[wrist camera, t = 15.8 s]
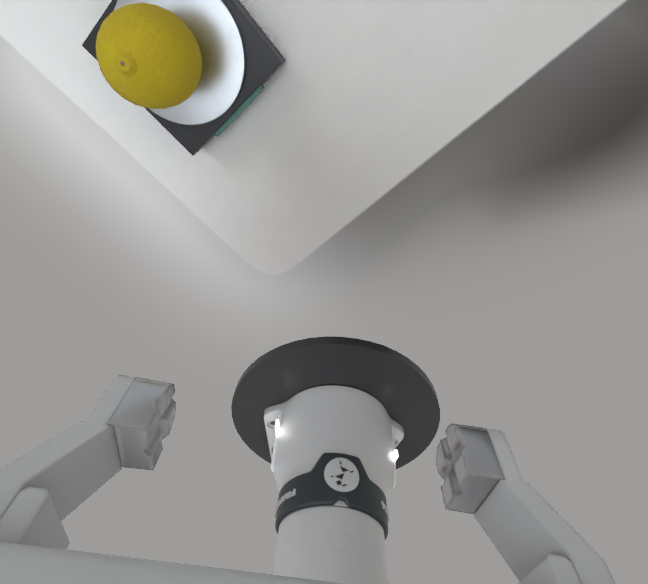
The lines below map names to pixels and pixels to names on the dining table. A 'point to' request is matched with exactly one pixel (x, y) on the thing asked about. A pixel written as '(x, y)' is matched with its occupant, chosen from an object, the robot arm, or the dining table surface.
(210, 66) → the scale pan
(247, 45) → the scale
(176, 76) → the lemon
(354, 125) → the dining table surface
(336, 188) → the dining table surface
